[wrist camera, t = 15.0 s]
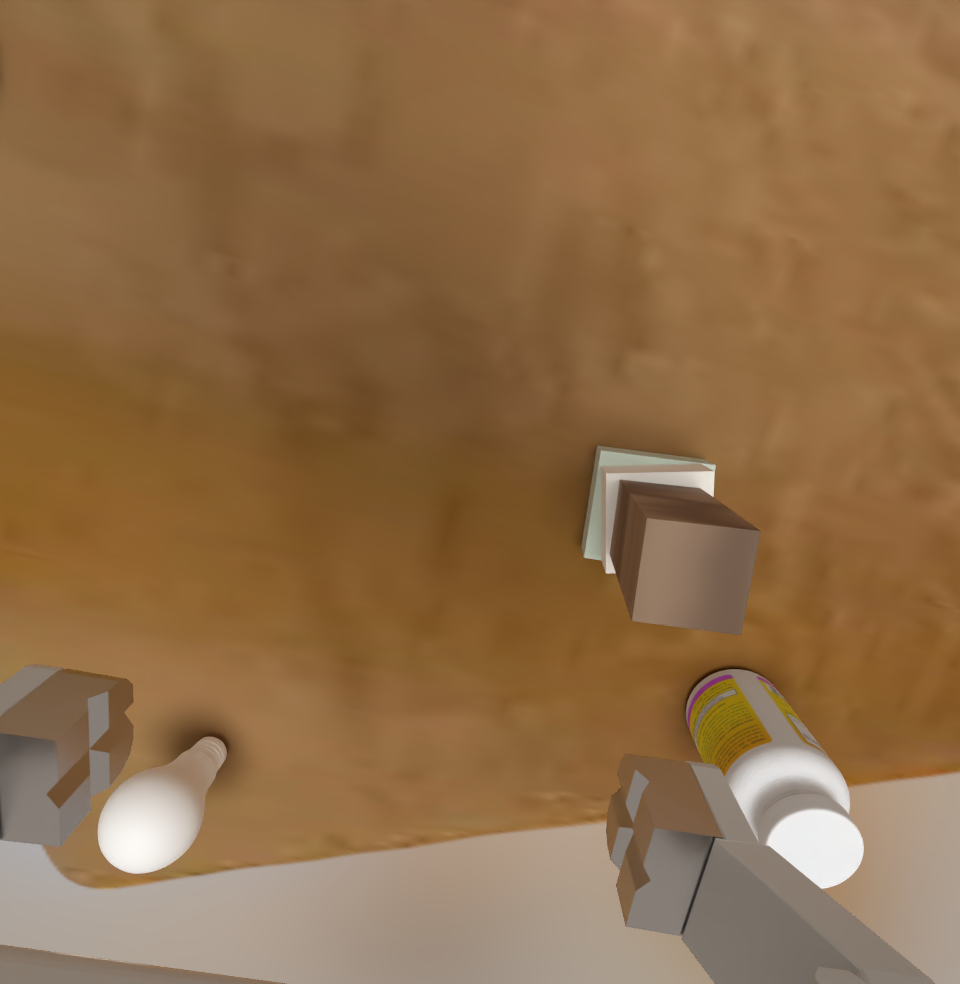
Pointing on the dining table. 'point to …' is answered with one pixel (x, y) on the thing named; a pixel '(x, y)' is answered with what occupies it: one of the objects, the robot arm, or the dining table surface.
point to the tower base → (593, 515)
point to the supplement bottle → (776, 774)
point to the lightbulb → (159, 810)
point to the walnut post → (682, 557)
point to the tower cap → (644, 473)
